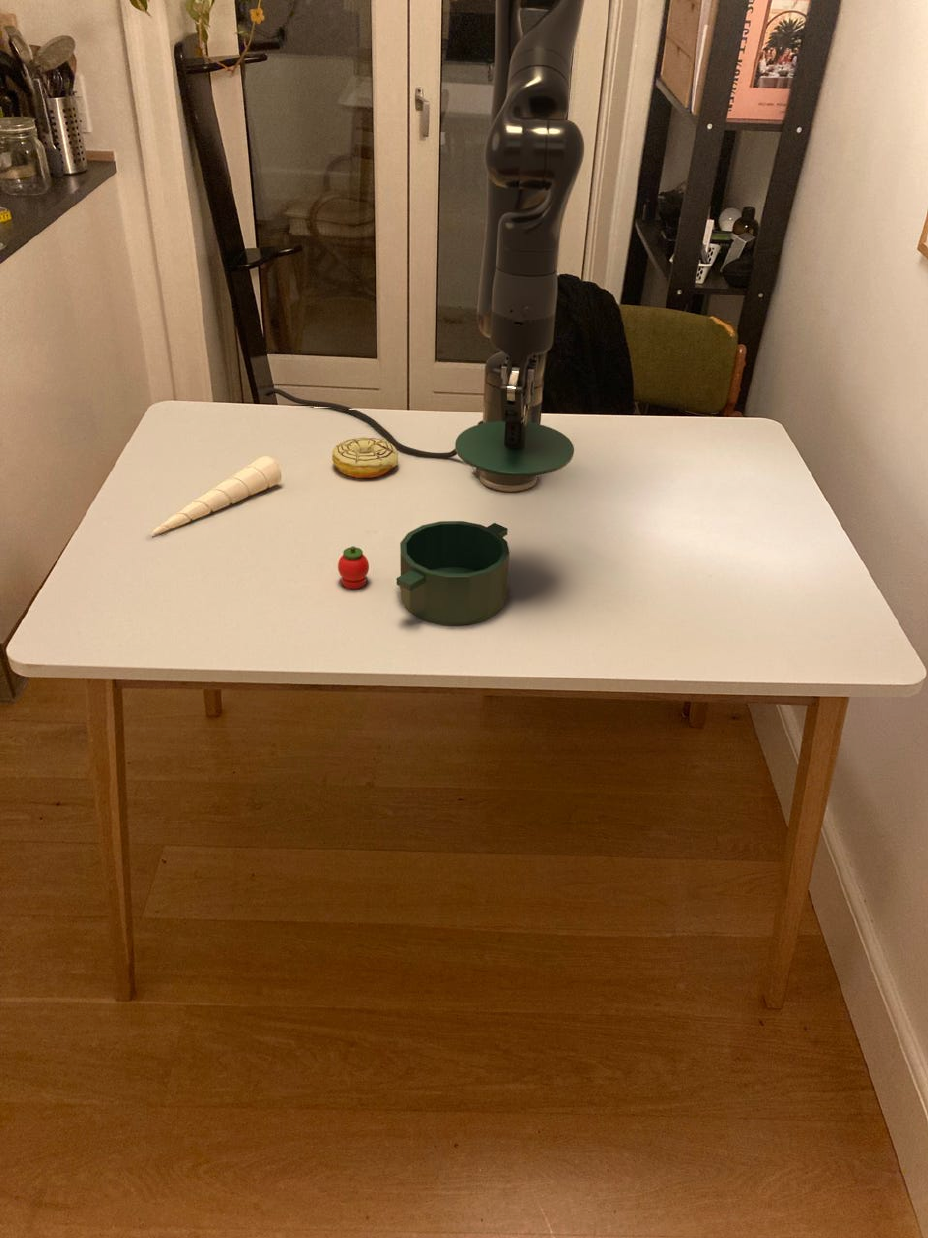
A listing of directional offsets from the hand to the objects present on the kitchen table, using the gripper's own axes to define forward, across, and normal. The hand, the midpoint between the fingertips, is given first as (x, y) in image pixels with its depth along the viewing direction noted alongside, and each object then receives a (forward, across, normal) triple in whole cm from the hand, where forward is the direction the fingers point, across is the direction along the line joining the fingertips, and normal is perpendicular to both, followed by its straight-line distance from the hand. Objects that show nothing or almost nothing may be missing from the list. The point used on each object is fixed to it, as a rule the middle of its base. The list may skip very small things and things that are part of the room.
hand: (514, 441), depth 125 cm
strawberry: (+21, +7, -20) cm, 30 cm away
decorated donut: (+21, -28, -28) cm, 45 cm away
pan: (+21, +6, -6) cm, 23 cm away
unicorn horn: (+21, -9, -46) cm, 51 cm away
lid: (+1, 0, 0) cm, 1 cm away
